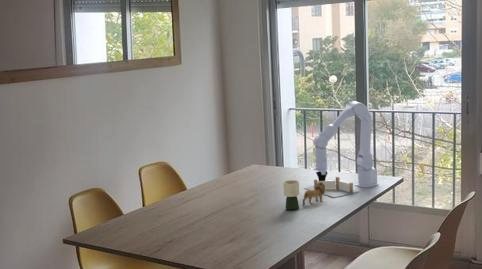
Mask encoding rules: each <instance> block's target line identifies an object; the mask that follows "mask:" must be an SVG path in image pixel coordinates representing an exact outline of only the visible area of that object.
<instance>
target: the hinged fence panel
mask: <svg viewBox="0 0 482 269" xmlns="http://www.w3.org/2000/svg"><path fill="white" fill-rule="evenodd" d="M319 182H322V183H324V185H325V189H330V188H336V186H335V185H336V179H334V180H333V179H331V180H330V179H329V180H325V181H319V180H318V179H313V186H314V189H316V187H317V184H318V183H319Z"/></svg>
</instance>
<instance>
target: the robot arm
mask: <svg viewBox="0 0 482 269" xmlns="http://www.w3.org/2000/svg"><path fill="white" fill-rule="evenodd" d="M355 116H356V117H358V119H360V134H359V135H360V136H359V137H360V139H359V140H360V141H359V150H358V153H357V157H356V161H355V162H356V164H357V166H358V167H357V179H358V180H357V181H358V182H357V183H354V186H356V187H360V188H364V189H366V188H371V187H376V186H379V183H378V172H377V169H376V168H375V167H374V163H375V162H374V159H373V155H372V151H371V143H372V142H371V141H372V135H371V134H372V115H371V113H370V111H369V109H368V106H366V105H365V104H364V103H362V102H358V101H356V100H351V101H350V102H349V103H348V105H346V106H345V107H344V109H343V110H341V112H340V114H339V115H338V116H337V118H336V119H335V120H334V121H333V122H332V123H331V124H327V125H325V126H324V129H323V130H322V131H321V132H320V133H318V135H317V136H315V137H314V139H313V141H312V142H313V143H312V144H313V145H314V156H315V158H314V159H315V167H313V171H316V172H315V174H316V175H317V178H318V179H317V180H318V181H326V180H327V179H326V178H327V176H328V169H329V168H328V161H327V160H328V157H327V156H328V155H327V147H328V144H329V142H330V141H331V140H332V138H333V137H334V136H335V135H336V134H337V132H338V128H339V127H340V126H341V125H342V124H343V123H344V122H345V121H346V120H347V119H348V118H352V117H355Z"/></svg>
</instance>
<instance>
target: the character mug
mask: <svg viewBox="0 0 482 269" xmlns="http://www.w3.org/2000/svg"><path fill="white" fill-rule="evenodd" d="M282 183H283V195H284V196H285V197H286V199H285V210H290V211H291V210H293V211H295V210H299V208H300V206H299V205H300V204H299V200H298V196H299V195H300V182H299V180H297V179H291V180H290V179H289V180H285V181H283V182H282Z"/></svg>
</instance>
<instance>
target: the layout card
mask: <svg viewBox="0 0 482 269" xmlns="http://www.w3.org/2000/svg"><path fill="white" fill-rule="evenodd" d="M335 186H336V184H335ZM303 189H304V190H306V191H307V190H315V189H314V185H313V186H308V187H304V188H303ZM357 193H360V191H359V190H355V189H353V193H350V192H347V191H344V190H340V189H336V188H330V189H325V192H324V194H323V195H322V196H326V197H329V198H333V199H336V198H341V197H344V196H349V195H353V194H357Z"/></svg>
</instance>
